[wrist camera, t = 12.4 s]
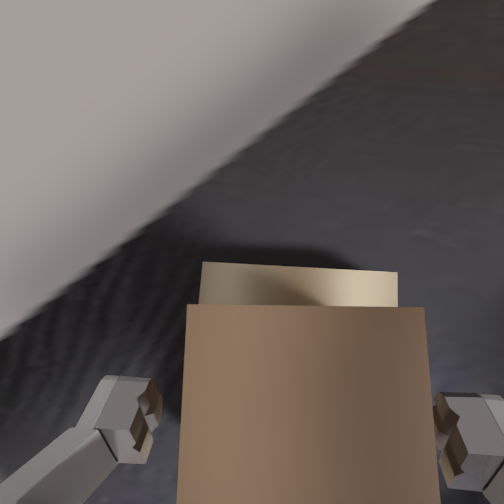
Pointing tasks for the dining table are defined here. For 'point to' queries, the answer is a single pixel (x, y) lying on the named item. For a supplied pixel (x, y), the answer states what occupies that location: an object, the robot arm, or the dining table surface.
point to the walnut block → (306, 406)
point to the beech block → (295, 286)
